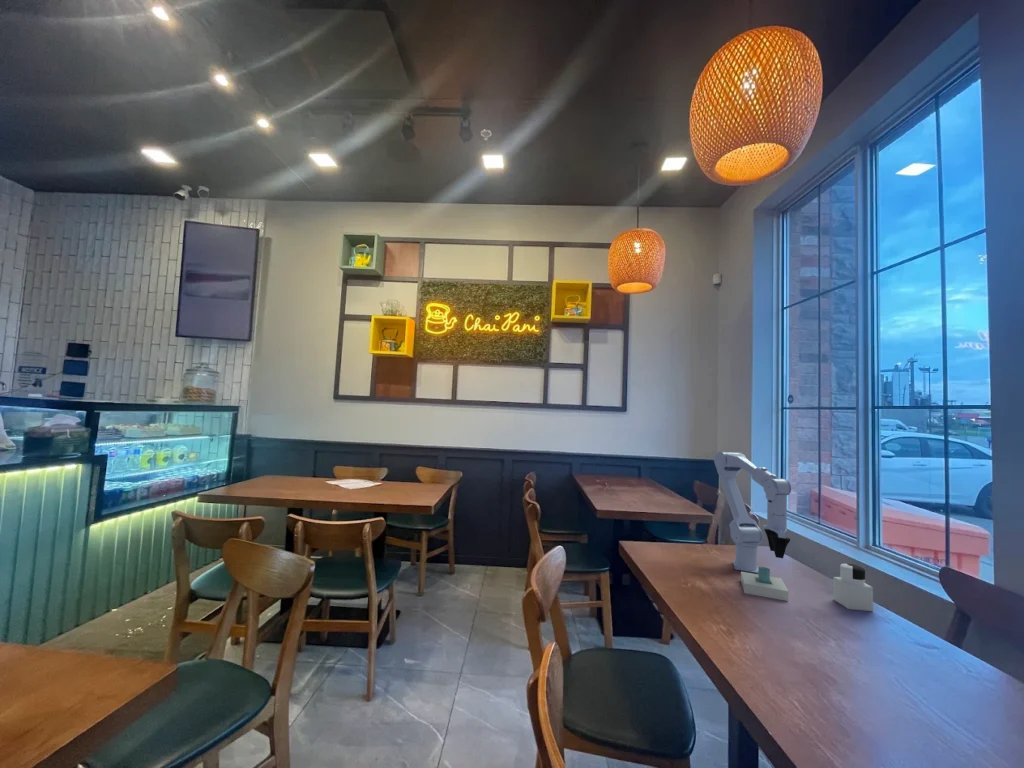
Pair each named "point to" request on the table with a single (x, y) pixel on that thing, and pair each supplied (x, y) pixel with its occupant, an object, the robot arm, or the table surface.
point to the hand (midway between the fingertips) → (776, 554)
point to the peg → (764, 575)
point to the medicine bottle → (852, 588)
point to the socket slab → (764, 587)
